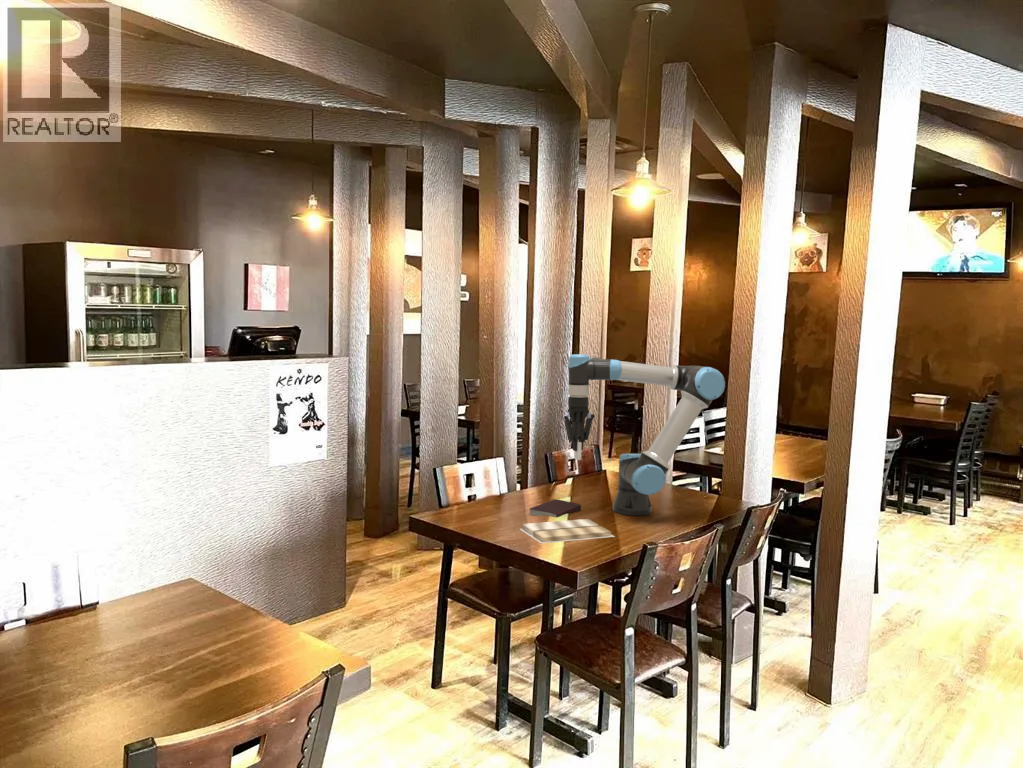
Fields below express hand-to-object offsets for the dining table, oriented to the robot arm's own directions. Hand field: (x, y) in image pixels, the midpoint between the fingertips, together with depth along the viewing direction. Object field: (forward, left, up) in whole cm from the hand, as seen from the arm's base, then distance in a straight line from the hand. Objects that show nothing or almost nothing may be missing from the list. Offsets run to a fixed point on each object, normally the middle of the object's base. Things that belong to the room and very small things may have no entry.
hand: (577, 459), depth 280 cm
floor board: (+12, +17, -23) cm, 31 cm away
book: (+2, -13, -24) cm, 27 cm away
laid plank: (+12, +22, -22) cm, 33 cm away
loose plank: (+12, +13, -22) cm, 28 cm away
